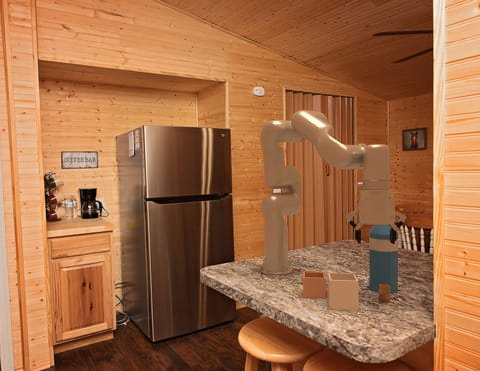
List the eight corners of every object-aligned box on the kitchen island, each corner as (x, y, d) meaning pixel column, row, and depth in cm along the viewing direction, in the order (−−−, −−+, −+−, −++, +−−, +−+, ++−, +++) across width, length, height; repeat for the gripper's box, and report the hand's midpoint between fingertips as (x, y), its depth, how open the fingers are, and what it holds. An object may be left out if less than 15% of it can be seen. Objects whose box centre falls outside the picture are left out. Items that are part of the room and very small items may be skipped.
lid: (371, 309, 108) (371, 289, 108) (366, 298, 117) (366, 280, 117) (404, 310, 107) (404, 290, 106) (396, 299, 115) (396, 281, 115)
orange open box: (303, 299, 115) (303, 277, 115) (303, 292, 122) (303, 271, 122) (326, 300, 114) (325, 278, 114) (324, 293, 121) (324, 272, 121)
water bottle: (374, 283, 130) (374, 213, 129) (401, 289, 124) (402, 215, 123) (364, 290, 123) (364, 216, 121) (393, 296, 117) (393, 218, 116)
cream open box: (329, 311, 106) (329, 280, 105) (327, 301, 114) (327, 272, 113) (358, 312, 104) (358, 281, 104) (354, 302, 112) (354, 273, 112)
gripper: (347, 186, 107) (347, 244, 108) (410, 186, 105) (409, 246, 105) (344, 185, 115) (344, 239, 115) (402, 185, 112) (402, 240, 113)
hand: (375, 242), depth 110 cm, fingers open, 9 cm apart
